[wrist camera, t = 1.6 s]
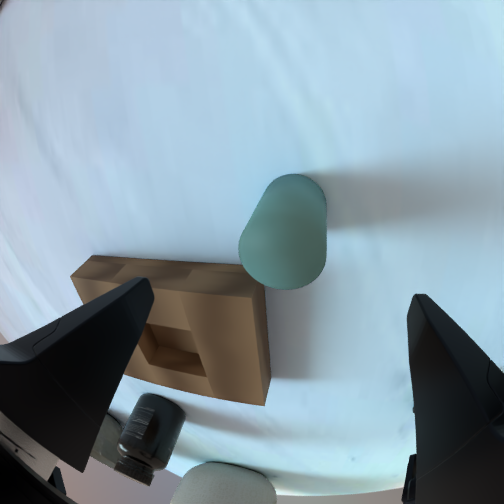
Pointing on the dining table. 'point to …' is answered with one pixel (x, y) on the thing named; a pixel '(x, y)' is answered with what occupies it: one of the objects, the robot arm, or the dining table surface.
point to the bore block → (193, 325)
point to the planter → (223, 486)
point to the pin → (286, 234)
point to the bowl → (107, 442)
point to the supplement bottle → (148, 438)
